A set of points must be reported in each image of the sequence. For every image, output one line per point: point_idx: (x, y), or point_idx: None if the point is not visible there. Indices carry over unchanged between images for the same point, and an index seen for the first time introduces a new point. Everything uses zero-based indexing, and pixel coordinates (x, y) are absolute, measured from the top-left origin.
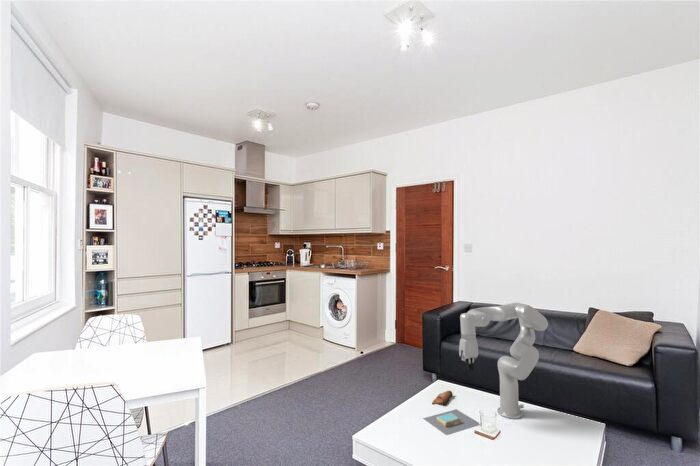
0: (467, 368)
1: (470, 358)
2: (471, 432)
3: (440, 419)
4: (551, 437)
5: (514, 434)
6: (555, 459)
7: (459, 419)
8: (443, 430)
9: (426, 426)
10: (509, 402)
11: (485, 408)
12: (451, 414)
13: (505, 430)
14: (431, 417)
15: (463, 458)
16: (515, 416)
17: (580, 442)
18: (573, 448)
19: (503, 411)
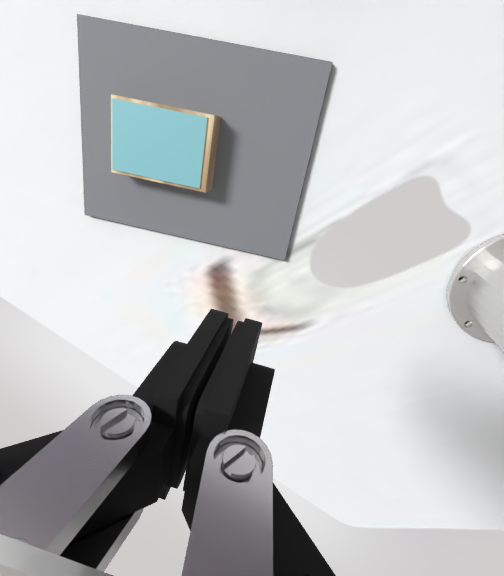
0: (178, 344)
1: (230, 547)
2: (198, 261)
3: (111, 130)
4: (400, 448)
5: (321, 369)
6: (276, 475)
7: (202, 191)
8: (97, 181)
9: (58, 92)
10: (501, 346)
11: (491, 169)
12: (199, 133)
13: (324, 338)
14: (127, 40)
15: (56, 325)
16: (473, 331)
17: (432, 503)
18: (376, 495)
19: (474, 285)
